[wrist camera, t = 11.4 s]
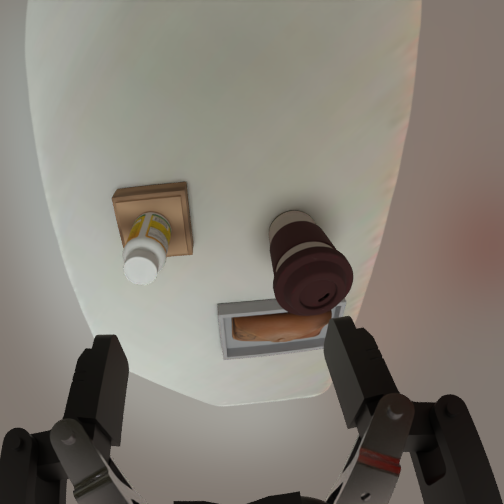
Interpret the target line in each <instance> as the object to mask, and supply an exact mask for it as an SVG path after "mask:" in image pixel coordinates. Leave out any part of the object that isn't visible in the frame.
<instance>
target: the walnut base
mask: <svg viewBox="0 0 504 504" xmlns="http://www.w3.org/2000/svg"><path fill="white" fill-rule="evenodd" d="M112 202H113V206H114V211H115V215H116V220H117V224H118V228H119V232H120V236H121V240H122V244H123V248H124V247H125V244H126V242H127V239H128V237H129V234H130V232H131V229H132V227H133V224H134V222H135V220H136V219H137V218H138V217H139V216H140V215H142V214H144V213H148V212H154V213H158V214H160V215H162V216H164V217H165V218H166V219H167V220H168V222H169V224H170V226H171V237H170V241H169V246H168V252H167V257H169V256H182V255H193V236H192V228H191V220H190V211H189V203H188V194H187V184H186V182H178V183H168V184H158V185H148V186H139V187H130V188H122V189H117V190H116V192H115V193H114V195H113V197H112Z"/></svg>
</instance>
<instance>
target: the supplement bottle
mask: <svg viewBox="0 0 504 504" xmlns="http://www.w3.org/2000/svg"><path fill="white" fill-rule="evenodd" d="M170 237H171V226H170V224H169V222H168V220H167V219H166V218H165V217H164V216H162V215H160V214H158V213H154V212H148V213H144V214H142V215H140V216H139V217H138V218H137V219H136V220H135V222H134V224H133V227H132V229H131V232H130V234H129V237H128V239H127V242H126V244H125V247H124V250H123V260H124V267H123V270H124V274H125V276H126V277H127V279H128V280H129V281H131V282H132V283H134V284H137V285H147V284H150V283H152V282H153V281H154V280H155V279H156V277H157V274H158V272H159V271H160V270H161V269H162V268H163V267H164V265H165V262H166V258H167V252H168V246H169V241H170Z"/></svg>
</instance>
